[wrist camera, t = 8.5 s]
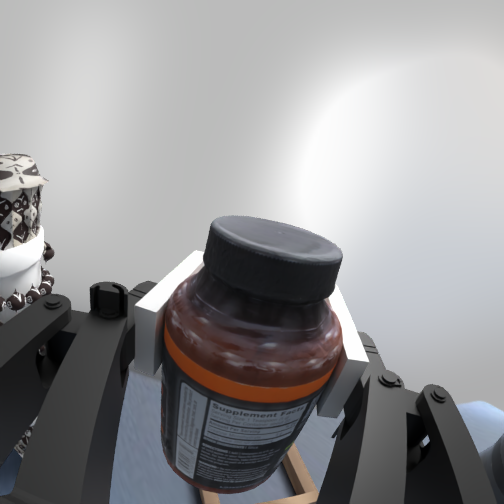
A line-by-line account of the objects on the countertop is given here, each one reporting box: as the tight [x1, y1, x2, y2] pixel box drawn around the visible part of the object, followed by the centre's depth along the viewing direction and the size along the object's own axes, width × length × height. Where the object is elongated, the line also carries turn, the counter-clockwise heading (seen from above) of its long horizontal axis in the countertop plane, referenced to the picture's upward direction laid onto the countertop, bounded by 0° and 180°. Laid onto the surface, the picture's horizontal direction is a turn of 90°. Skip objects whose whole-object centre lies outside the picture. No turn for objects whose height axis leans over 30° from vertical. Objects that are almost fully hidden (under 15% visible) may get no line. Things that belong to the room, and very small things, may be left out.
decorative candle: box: [0, 154, 54, 458], centre depth 13 cm, size 9×9×25 cm
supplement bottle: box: [161, 216, 343, 494], centre depth 10 cm, size 6×6×11 cm
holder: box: [199, 443, 319, 504], centre depth 20 cm, size 10×10×2 cm
